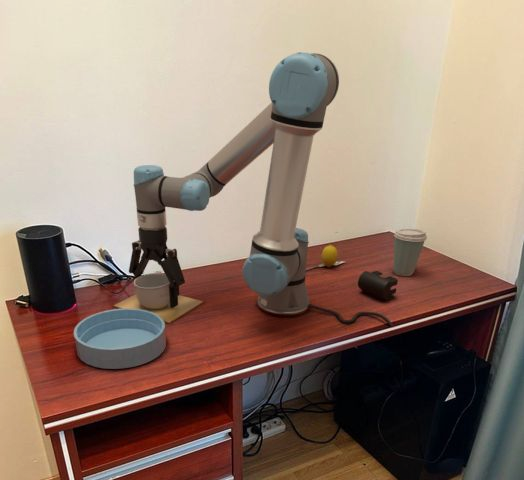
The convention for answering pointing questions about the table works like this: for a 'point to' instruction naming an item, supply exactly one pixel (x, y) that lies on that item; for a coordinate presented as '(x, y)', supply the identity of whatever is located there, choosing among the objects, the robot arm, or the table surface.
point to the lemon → (329, 255)
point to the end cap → (377, 285)
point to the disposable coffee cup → (407, 250)
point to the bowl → (120, 338)
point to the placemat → (166, 312)
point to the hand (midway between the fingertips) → (158, 301)
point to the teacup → (153, 290)
